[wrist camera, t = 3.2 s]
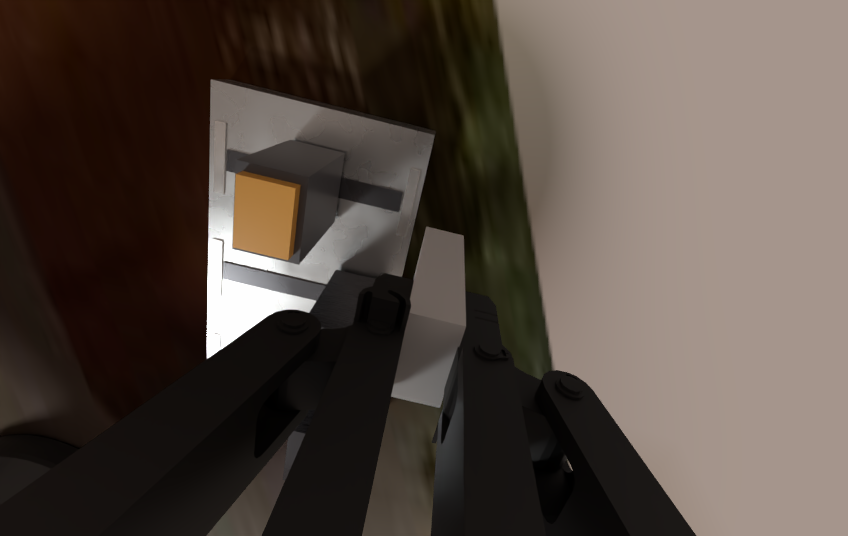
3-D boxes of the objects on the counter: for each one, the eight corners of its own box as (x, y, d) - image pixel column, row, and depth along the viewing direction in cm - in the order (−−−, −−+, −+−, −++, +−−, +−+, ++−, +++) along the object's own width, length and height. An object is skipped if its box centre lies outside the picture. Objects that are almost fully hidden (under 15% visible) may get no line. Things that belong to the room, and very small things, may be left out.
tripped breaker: (283, 209, 24) (225, 254, 18) (290, 139, 23) (228, 162, 16) (334, 221, 24) (294, 270, 18) (344, 153, 23) (304, 180, 16)
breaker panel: (219, 380, 33) (147, 474, 25) (229, 79, 24) (120, 78, 16) (370, 414, 33) (345, 516, 25) (436, 131, 24) (428, 154, 16)
